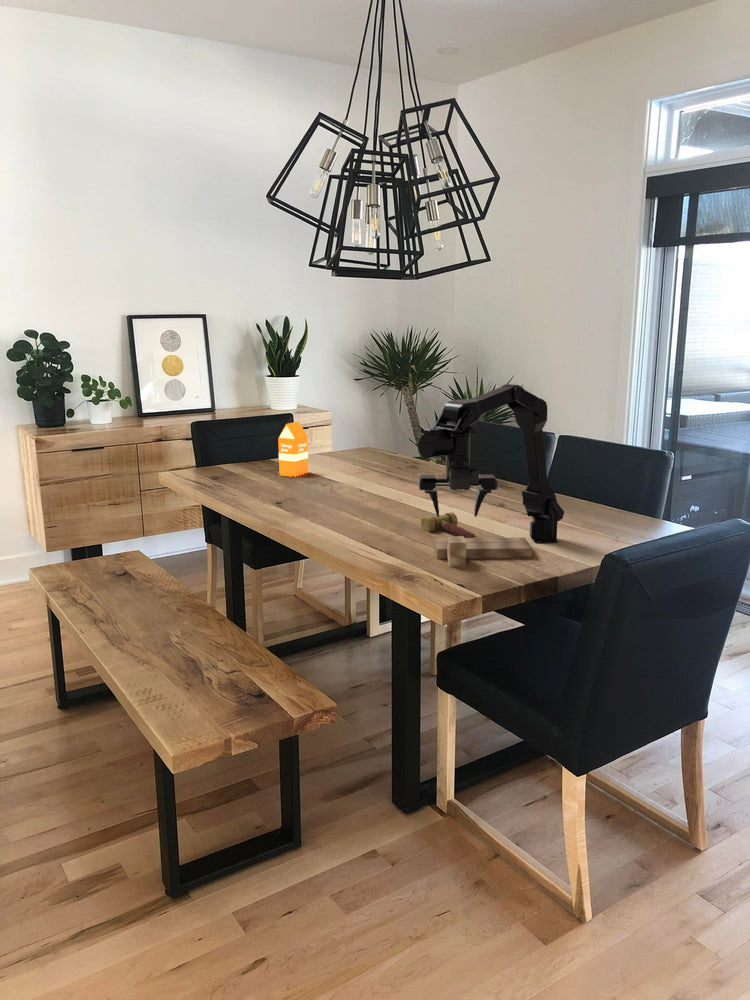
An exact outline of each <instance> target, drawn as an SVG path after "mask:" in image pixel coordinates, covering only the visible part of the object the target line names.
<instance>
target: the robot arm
mask: <svg viewBox="0 0 750 1000" xmlns="http://www.w3.org/2000/svg"><path fill="white" fill-rule="evenodd" d="M505 405H506V406H507V407H508V408H509V409H510V410H511V411H512V412H513V415H514V418H515V419H514V420H515V423H516V425H517V426H518V427H519V428H520V430H521V432H522V435H523V443H524V444H523V445H524V451H525V453H524V454H525V460H526V470H527V479H528V484H527V486H526V489H524V490H522V491H521V496H522V505H524V509H525V510H526V514H527V516H528V517H532V519H531V521H530V522H529V537H530V538H531V539H532V541H533V543H559V540H558V538H557V537H558V522H560V521H561V520H563V519H564V515H565V511H564V509H563V508H562V507H561V506H560V504H559V503H558V500H557V497H556V491H555V490H554V488H553V487H552V485H551V484H550V482H549V479H548V471H547V463H546V454H545V453H546V452H545V443H544V432H543V429H544V427H545V425H546V423H547V421H548V404H547V402H546V400H544V399H543V398H539V397H538V396H536V395H535V394H533V393H531V392H529V391H528V390H526V389H525V388H523V387H522V386H520V385H519V384H511V383H506V384H503V385H501V387H498V388H495V389H493V390H490V391H488V392H487V391H486V393H483V394H481V395H478V396H475V397H472V398H467V399H465V398H464V399H456V400H450V401H447V402H446V403H445V404H444V407H443V409H442V411H441V412H440V415H439V416H438V418H437V420H436V422H435V424H434V426H433V428H425V429H424V434H422V435H421V436H420V438H419V442H417V443H418V444H417V445H418V451H419V454H420V455H421V456H422V458H425V459H431V458H432V459H433V458H439V457H445V478H442V477H441V478H439V477H438V478H436V476H435V474H420V475H419V476H418V477H417V478H418V481H417V483H418V489H419V490H420V491H424V493H425V494H428V495H429V497H430V500H431V501H432V503H433V507H434V510H435V511H434V512H435V514H436V516H437V517H439V515H440V509H439V500H438V491H437V487H449V489H450V490H452V491H457V490H464V491H469V490H470V489H471V487H476V490H475V499H474V507H473V508H474V509H473V513H474V514H473V516H474V518H477V516H478V513H479V511H480V509H481V505H482V502H483V500H484V498H485V497H486V496H487V495H488V494H492V491H495V490H498V480H497V478H496V477H495V475H493V474H492V473H491V474H480V471H479V468H470V458H471V457H470V456H471V453H470V452H471V449H470V448H471V436H472V435H477V433H478V432H477V430H476V429H475V428H474V427H473V426H472V425H473V424H475V423H476V422H478V421H479V420H480V419H481V416H483V415H484V414H487V413H489V412H491V411H494V410H496V409H498V408H501V407H504V406H505Z"/></svg>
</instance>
